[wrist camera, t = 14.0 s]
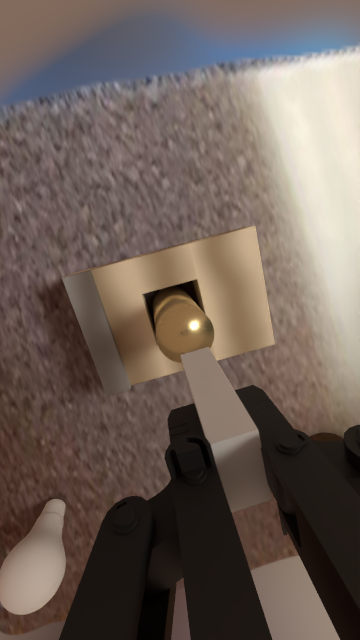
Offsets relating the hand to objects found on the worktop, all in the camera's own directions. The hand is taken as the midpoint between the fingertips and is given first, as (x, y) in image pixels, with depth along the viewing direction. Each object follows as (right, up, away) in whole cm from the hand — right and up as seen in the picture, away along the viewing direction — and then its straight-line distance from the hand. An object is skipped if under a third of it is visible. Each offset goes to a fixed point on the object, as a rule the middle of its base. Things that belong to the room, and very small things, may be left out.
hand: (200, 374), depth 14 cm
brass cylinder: (-2, +4, +16) cm, 17 cm away
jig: (-2, +4, +16) cm, 17 cm away
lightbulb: (-17, -21, +22) cm, 34 cm away
